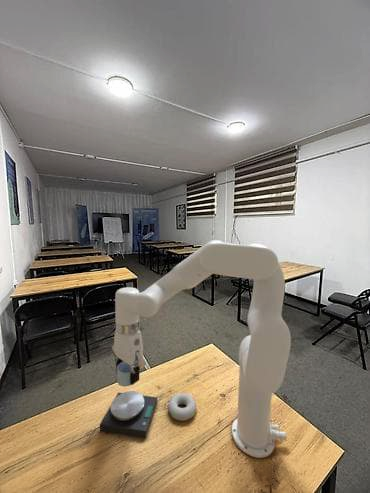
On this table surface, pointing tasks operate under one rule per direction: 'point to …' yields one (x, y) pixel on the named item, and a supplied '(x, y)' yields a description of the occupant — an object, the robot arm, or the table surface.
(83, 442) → the table surface
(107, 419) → the scale
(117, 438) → the table surface
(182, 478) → the table surface
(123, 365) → the light blue cup
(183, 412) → the donut
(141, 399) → the scale pan
